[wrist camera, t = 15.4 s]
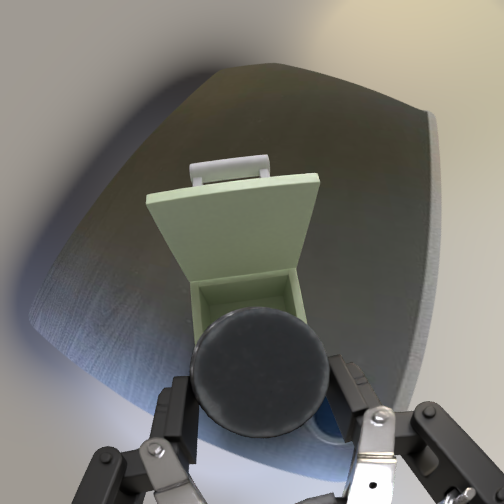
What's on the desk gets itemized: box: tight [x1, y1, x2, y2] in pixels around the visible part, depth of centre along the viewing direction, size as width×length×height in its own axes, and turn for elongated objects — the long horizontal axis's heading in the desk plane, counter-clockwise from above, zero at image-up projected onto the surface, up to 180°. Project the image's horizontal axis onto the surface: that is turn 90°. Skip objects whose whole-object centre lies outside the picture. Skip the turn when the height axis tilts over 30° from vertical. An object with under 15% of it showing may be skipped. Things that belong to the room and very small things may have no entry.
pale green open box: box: [190, 268, 307, 346], centre depth 31 cm, size 13×11×8 cm
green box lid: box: [146, 155, 320, 282], centre depth 25 cm, size 14×11×5 cm
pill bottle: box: [189, 306, 330, 438], centre depth 14 cm, size 6×6×11 cm
